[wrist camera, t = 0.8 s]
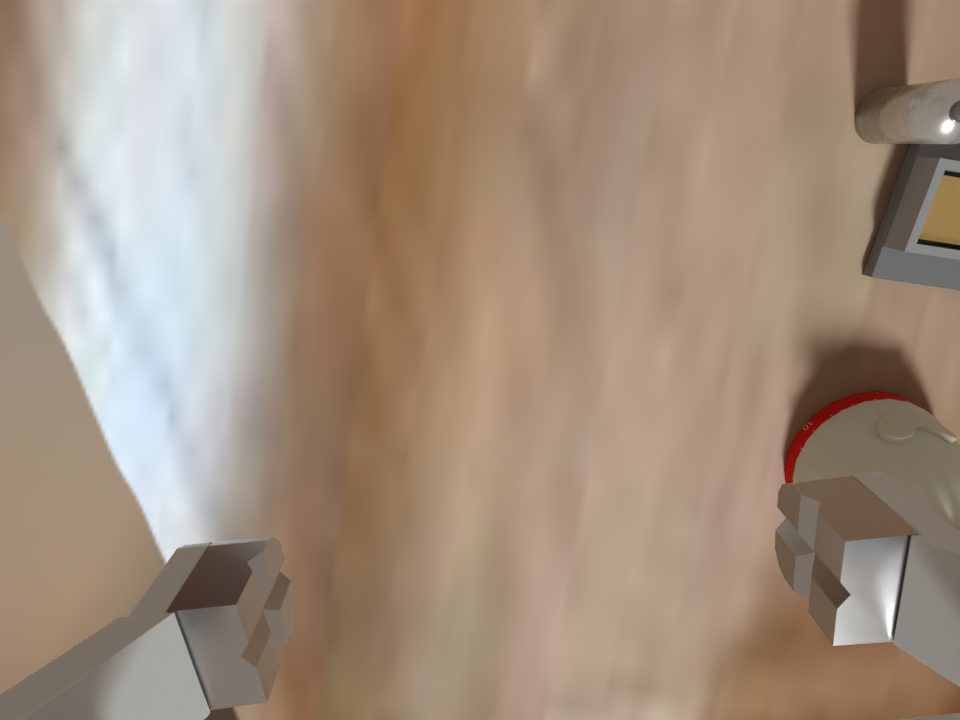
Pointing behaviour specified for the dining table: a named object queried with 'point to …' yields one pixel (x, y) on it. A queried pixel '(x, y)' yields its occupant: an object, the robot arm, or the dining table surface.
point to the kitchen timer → (881, 448)
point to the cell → (911, 114)
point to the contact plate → (944, 213)
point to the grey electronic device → (916, 222)
